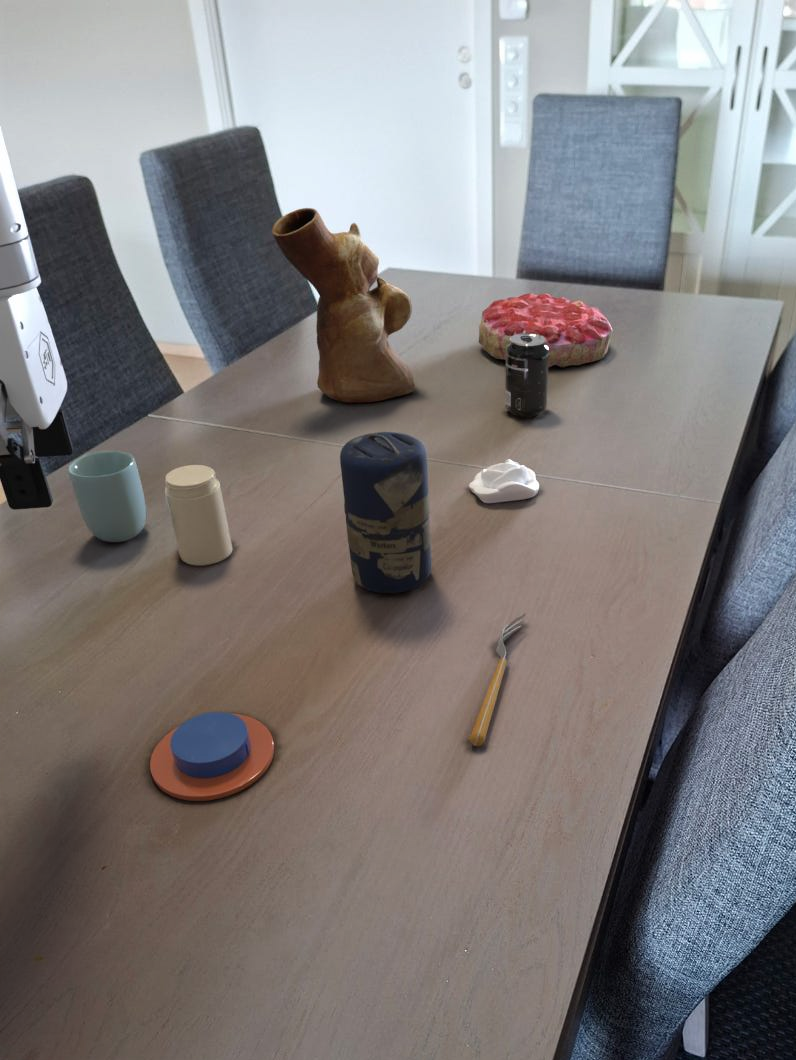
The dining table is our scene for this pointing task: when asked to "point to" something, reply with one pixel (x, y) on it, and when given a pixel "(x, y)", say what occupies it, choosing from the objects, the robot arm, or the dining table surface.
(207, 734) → the jam lid
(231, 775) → the coaster
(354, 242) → the ceramic vessel
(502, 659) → the fork
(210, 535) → the jam jar
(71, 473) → the cup
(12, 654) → the dining table surface
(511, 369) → the beverage can
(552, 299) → the cake
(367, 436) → the canister
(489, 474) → the rose
